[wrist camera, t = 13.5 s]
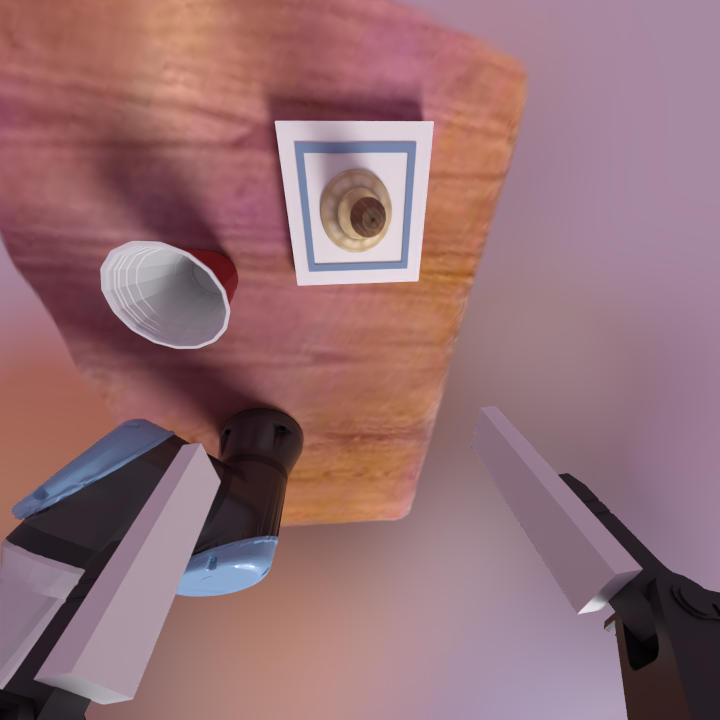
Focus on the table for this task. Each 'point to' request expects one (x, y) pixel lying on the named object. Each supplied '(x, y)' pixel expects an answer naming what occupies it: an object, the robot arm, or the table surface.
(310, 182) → the display board
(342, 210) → the hand bell
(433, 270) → the table surface
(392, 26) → the table surface
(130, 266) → the plastic cup
